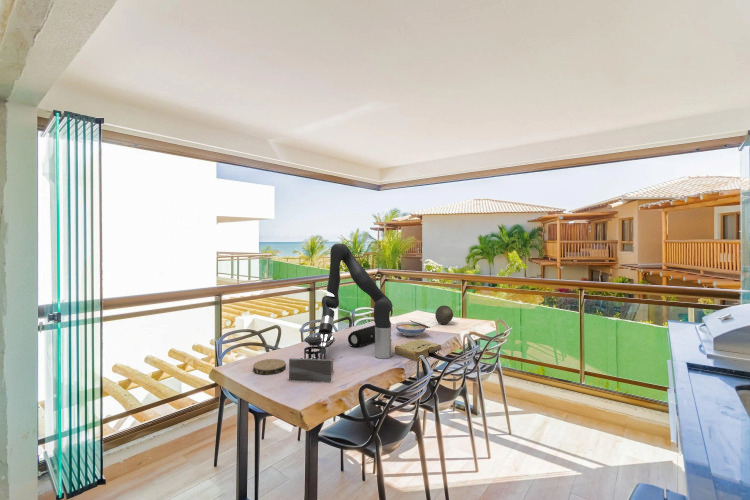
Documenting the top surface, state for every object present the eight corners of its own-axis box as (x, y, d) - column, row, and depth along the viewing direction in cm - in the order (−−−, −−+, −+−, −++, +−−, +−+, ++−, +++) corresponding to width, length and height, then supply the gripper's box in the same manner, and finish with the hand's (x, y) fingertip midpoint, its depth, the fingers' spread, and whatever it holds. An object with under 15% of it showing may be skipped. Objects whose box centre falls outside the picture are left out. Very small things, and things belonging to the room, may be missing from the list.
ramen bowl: (388, 332, 259) (388, 321, 259) (415, 329, 269) (415, 319, 269) (405, 341, 237) (405, 329, 237) (434, 338, 246) (434, 326, 246)
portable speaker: (358, 349, 219) (358, 333, 219) (346, 346, 225) (346, 330, 225) (383, 340, 239) (383, 325, 239) (371, 337, 245) (371, 323, 245)
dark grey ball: (435, 325, 283) (435, 307, 282) (435, 321, 297) (435, 303, 296) (453, 326, 280) (453, 307, 280) (452, 322, 294) (452, 304, 294)
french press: (306, 377, 173) (306, 330, 172) (299, 371, 181) (299, 326, 180) (328, 373, 179) (329, 327, 178) (320, 367, 187) (321, 323, 186)
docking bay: (297, 369, 184) (297, 350, 183) (336, 370, 182) (336, 351, 182) (289, 380, 169) (289, 359, 169) (330, 381, 168) (330, 360, 168)
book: (415, 362, 198) (415, 351, 198) (393, 354, 210) (393, 344, 210) (442, 353, 215) (442, 343, 215) (420, 346, 227) (421, 337, 227)
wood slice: (289, 372, 180) (289, 366, 180) (256, 377, 172) (257, 371, 172) (280, 362, 194) (280, 357, 194) (250, 367, 186) (250, 361, 186)
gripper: (313, 321, 202) (308, 349, 190) (337, 322, 201) (332, 350, 190) (315, 328, 208) (310, 356, 196) (338, 329, 207) (334, 357, 195)
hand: (321, 353), depth 193 cm, fingers closed
